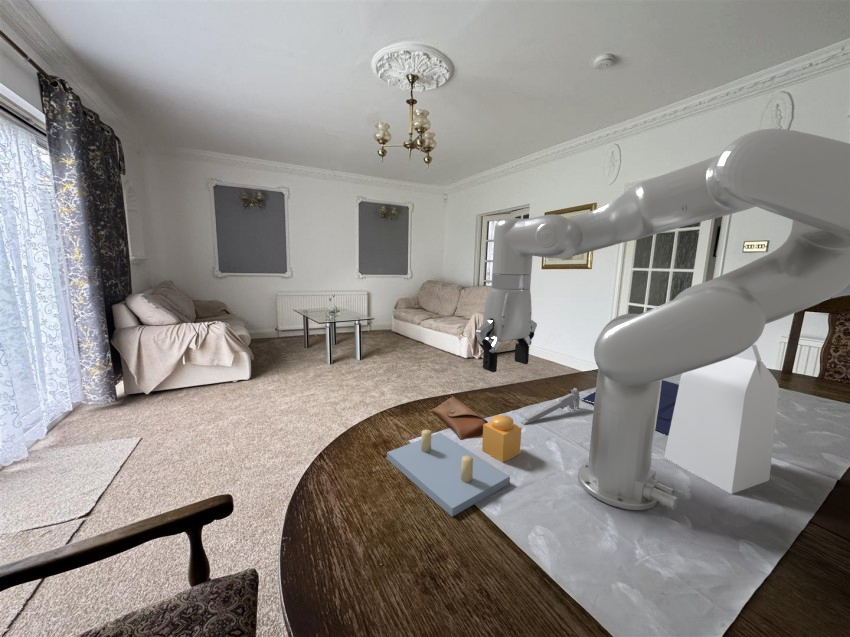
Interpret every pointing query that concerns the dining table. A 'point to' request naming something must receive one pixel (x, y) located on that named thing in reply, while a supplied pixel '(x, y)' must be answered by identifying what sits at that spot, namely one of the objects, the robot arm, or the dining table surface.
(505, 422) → the cube with ball knob
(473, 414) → the sunglasses case
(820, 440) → the dining table surface
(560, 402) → the caliper
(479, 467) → the board
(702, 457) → the milk
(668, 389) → the folded navy cloth
